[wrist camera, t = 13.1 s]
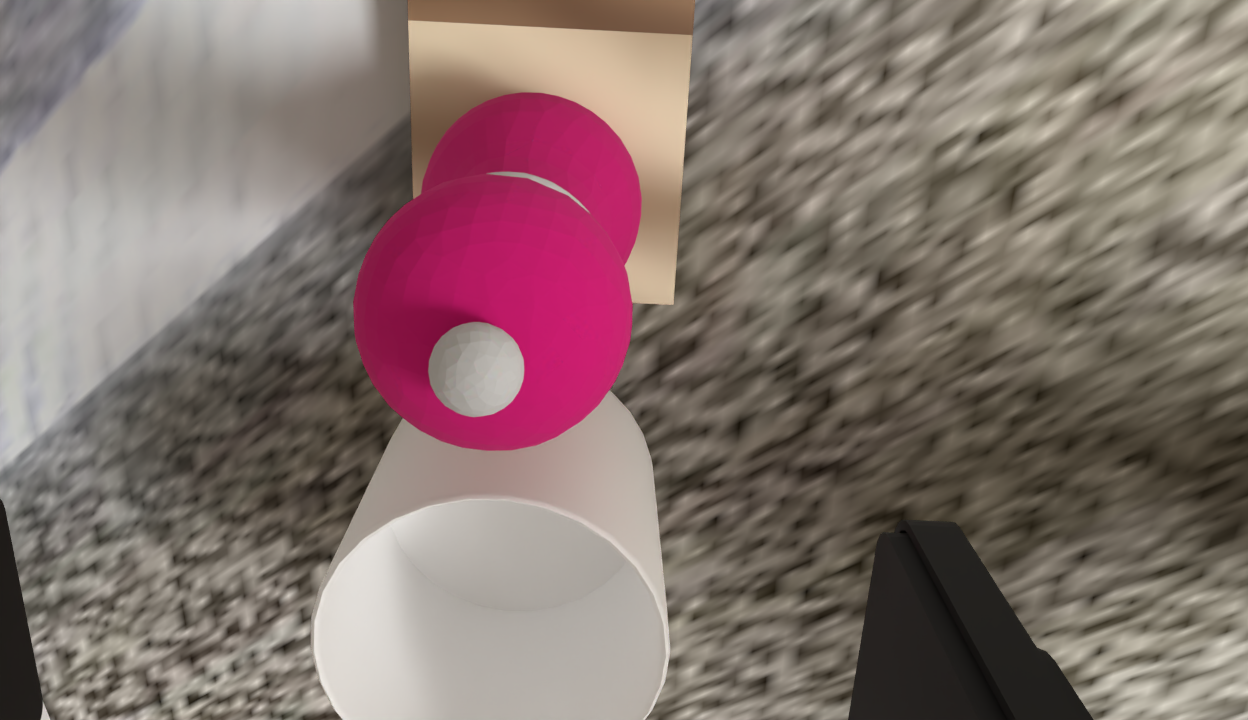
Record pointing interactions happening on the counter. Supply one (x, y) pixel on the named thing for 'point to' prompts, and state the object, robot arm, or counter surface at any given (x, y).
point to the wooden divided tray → (569, 90)
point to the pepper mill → (505, 277)
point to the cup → (500, 582)
